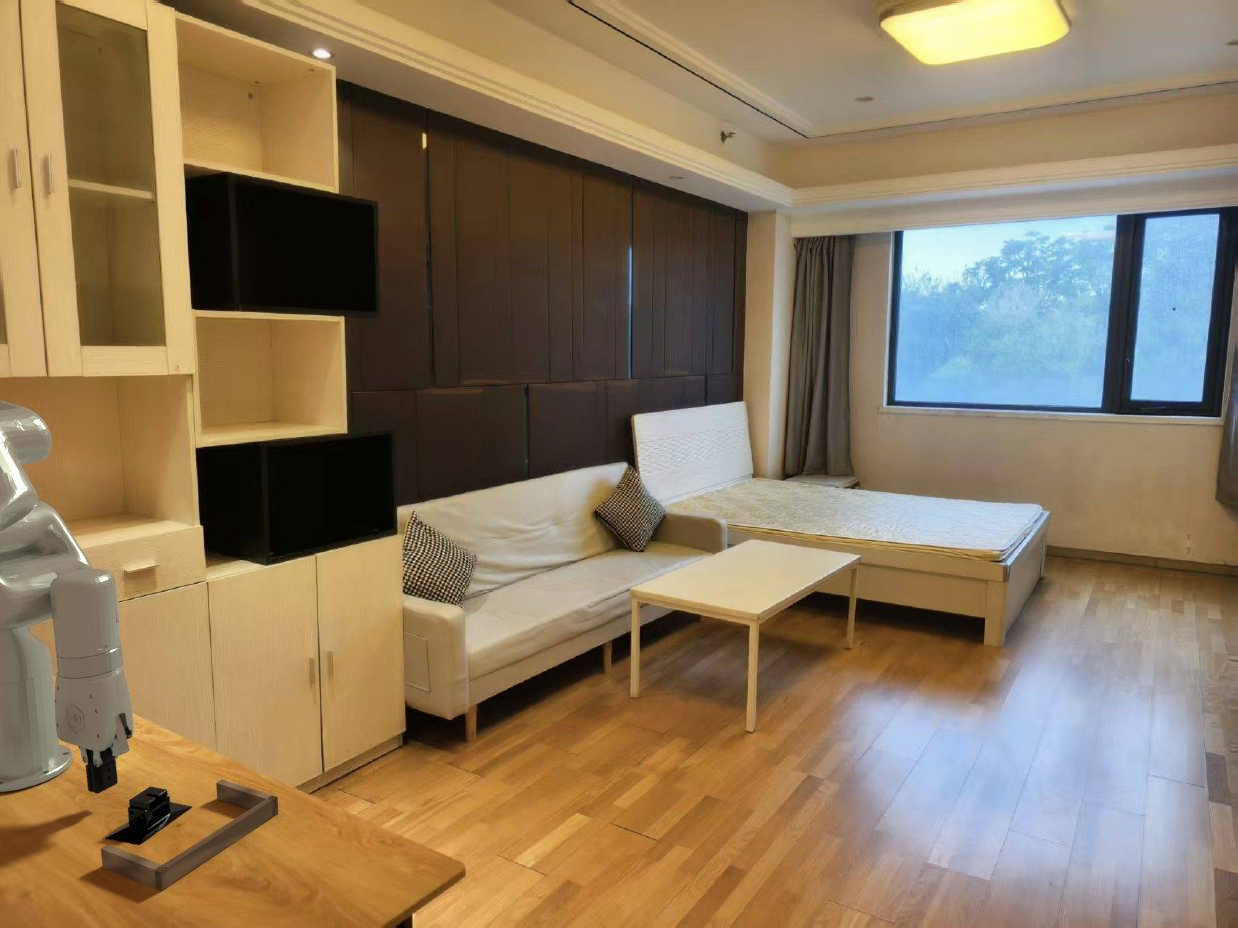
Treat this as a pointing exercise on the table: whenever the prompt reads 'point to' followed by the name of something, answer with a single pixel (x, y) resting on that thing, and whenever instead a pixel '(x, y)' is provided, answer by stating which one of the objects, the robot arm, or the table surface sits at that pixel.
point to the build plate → (148, 816)
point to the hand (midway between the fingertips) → (103, 787)
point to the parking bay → (204, 850)
